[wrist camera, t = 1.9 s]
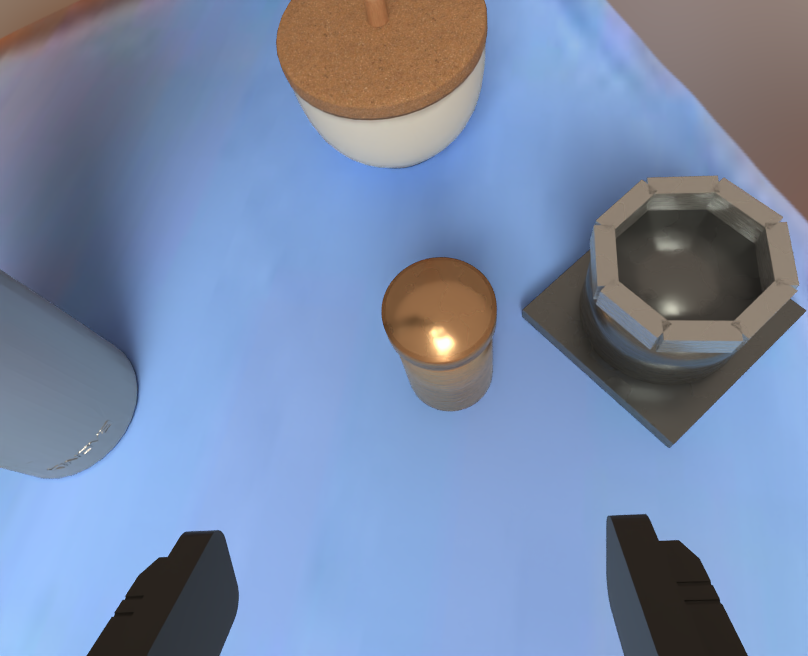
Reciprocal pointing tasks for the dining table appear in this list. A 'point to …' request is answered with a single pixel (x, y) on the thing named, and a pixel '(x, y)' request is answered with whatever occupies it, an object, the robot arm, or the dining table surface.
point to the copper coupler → (443, 330)
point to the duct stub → (673, 298)
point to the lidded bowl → (385, 73)
